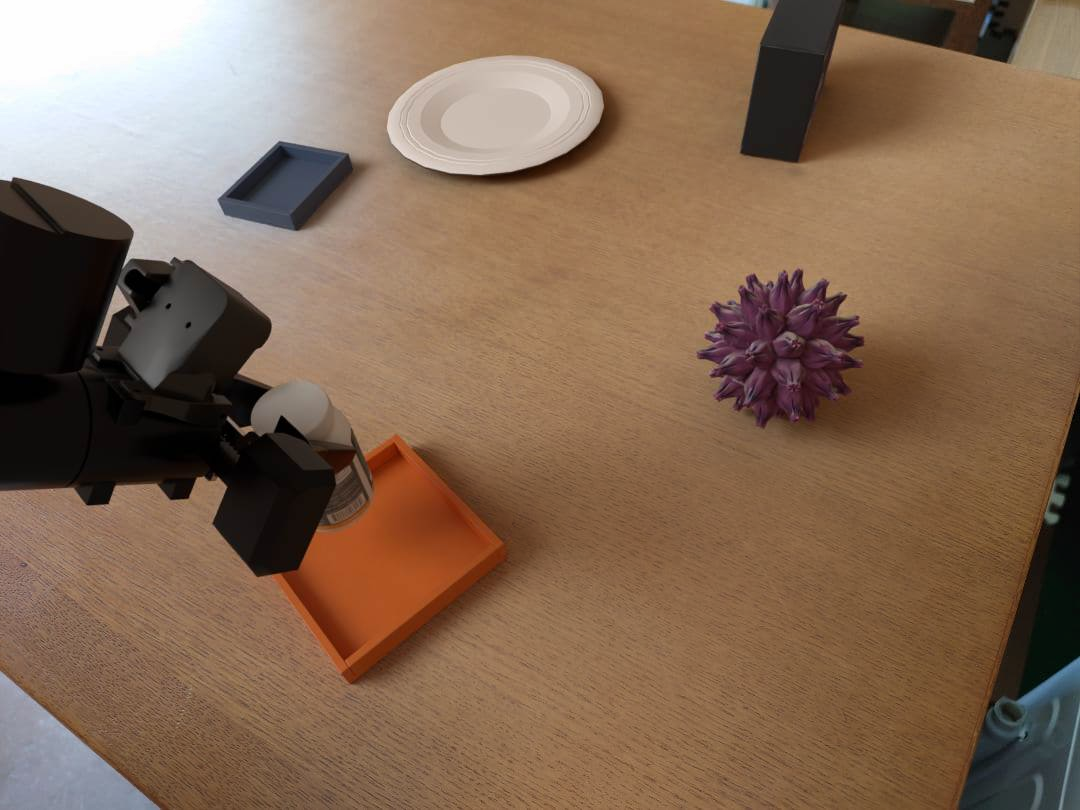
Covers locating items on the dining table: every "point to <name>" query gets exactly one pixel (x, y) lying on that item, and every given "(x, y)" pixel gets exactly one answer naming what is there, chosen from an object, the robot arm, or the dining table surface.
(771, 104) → the box
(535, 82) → the plate
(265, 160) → the blue tray
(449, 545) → the orange tray
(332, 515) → the pill bottle
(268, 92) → the dining table surface
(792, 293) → the flower
